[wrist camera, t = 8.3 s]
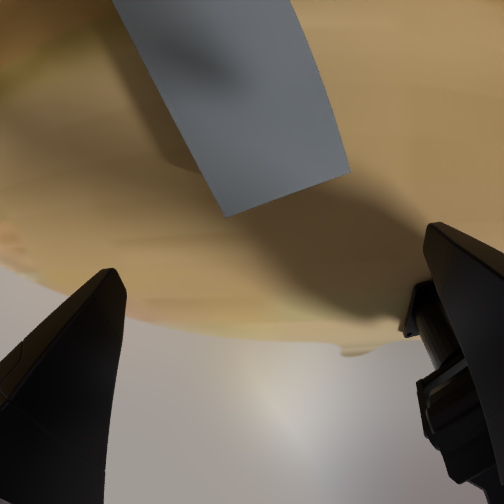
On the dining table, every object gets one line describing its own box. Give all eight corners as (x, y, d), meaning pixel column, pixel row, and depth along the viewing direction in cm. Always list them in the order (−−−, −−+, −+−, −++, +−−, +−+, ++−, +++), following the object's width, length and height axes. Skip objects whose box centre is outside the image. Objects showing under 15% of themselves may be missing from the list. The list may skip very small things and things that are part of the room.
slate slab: (328, 144, 17) (351, 172, 14) (227, 182, 18) (225, 218, 15) (244, -54, 10) (247, -81, 7) (132, -6, 11) (102, -17, 8)
